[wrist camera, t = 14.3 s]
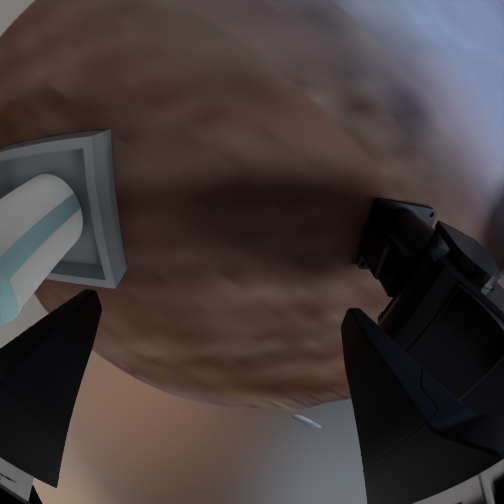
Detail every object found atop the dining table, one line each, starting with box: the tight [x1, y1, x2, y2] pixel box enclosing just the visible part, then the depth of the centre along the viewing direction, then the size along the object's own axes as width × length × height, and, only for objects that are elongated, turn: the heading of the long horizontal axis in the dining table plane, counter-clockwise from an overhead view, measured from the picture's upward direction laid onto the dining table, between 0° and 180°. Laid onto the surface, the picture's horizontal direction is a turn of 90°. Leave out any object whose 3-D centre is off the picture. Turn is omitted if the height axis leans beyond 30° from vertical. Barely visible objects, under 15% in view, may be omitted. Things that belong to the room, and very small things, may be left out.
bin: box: [0, 129, 127, 289], centre depth 19 cm, size 13×13×3 cm
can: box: [0, 174, 83, 324], centre depth 15 cm, size 7×7×12 cm
